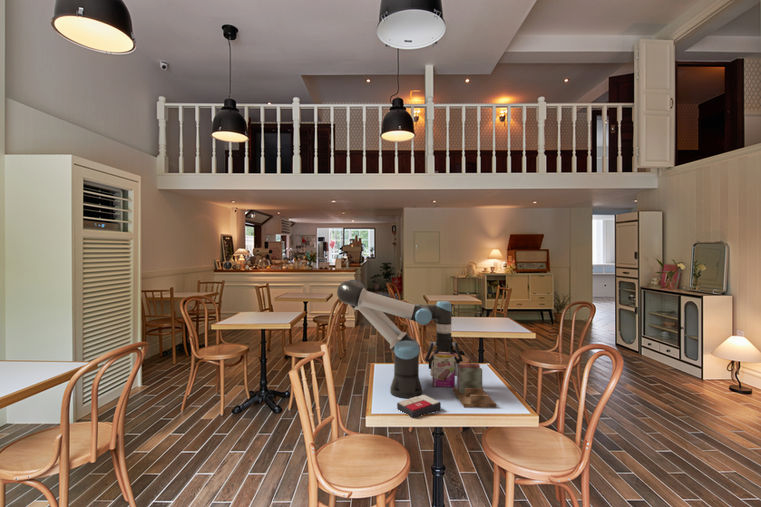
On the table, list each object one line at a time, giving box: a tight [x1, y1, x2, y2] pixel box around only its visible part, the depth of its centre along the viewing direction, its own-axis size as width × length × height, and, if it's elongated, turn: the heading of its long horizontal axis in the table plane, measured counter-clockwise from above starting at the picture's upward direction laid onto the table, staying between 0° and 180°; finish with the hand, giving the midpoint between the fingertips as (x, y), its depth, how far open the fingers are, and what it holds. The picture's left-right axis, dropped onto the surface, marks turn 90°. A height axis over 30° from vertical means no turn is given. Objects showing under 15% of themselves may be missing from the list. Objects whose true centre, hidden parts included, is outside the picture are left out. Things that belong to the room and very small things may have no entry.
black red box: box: [396, 394, 442, 419], centre depth 154 cm, size 11×4×15 cm
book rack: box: [452, 362, 497, 408], centre depth 168 cm, size 14×21×14 cm, turn 2°
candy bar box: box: [431, 351, 456, 389], centre depth 185 cm, size 11×5×16 cm, turn 84°
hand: (443, 375), depth 185 cm, fingers closed on candy bar box, 11 cm apart
